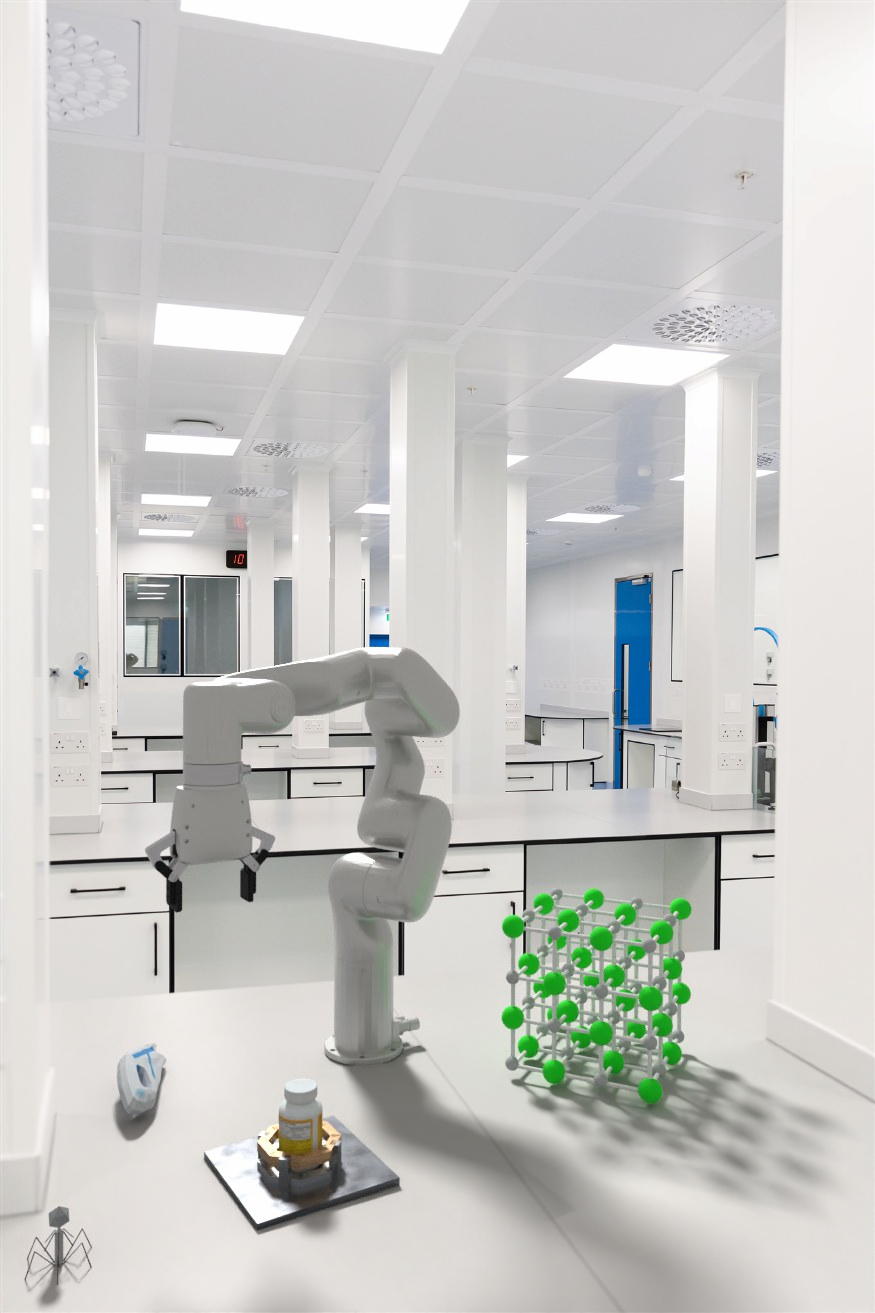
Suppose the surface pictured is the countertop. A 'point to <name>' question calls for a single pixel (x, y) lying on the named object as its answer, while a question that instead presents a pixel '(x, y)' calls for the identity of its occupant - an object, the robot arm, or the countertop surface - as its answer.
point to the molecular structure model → (599, 988)
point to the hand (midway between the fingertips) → (212, 904)
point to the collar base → (298, 1174)
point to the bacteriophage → (58, 1237)
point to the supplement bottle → (300, 1119)
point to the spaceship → (139, 1078)
